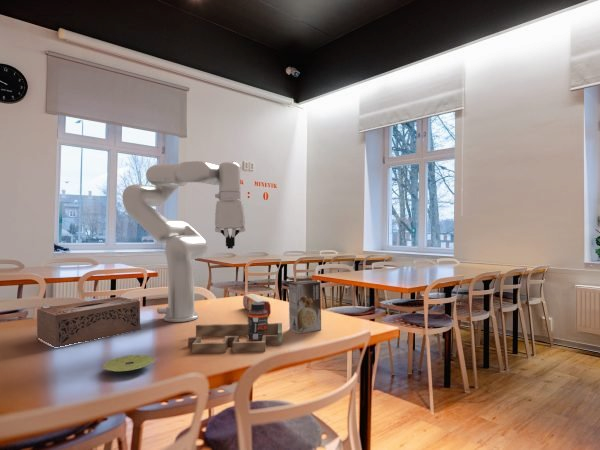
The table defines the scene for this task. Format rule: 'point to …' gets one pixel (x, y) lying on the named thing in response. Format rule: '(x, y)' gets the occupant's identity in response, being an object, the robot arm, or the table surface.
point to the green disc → (128, 363)
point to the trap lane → (233, 338)
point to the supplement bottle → (257, 322)
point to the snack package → (253, 298)
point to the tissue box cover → (87, 320)
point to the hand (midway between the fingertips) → (230, 248)
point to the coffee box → (304, 306)
